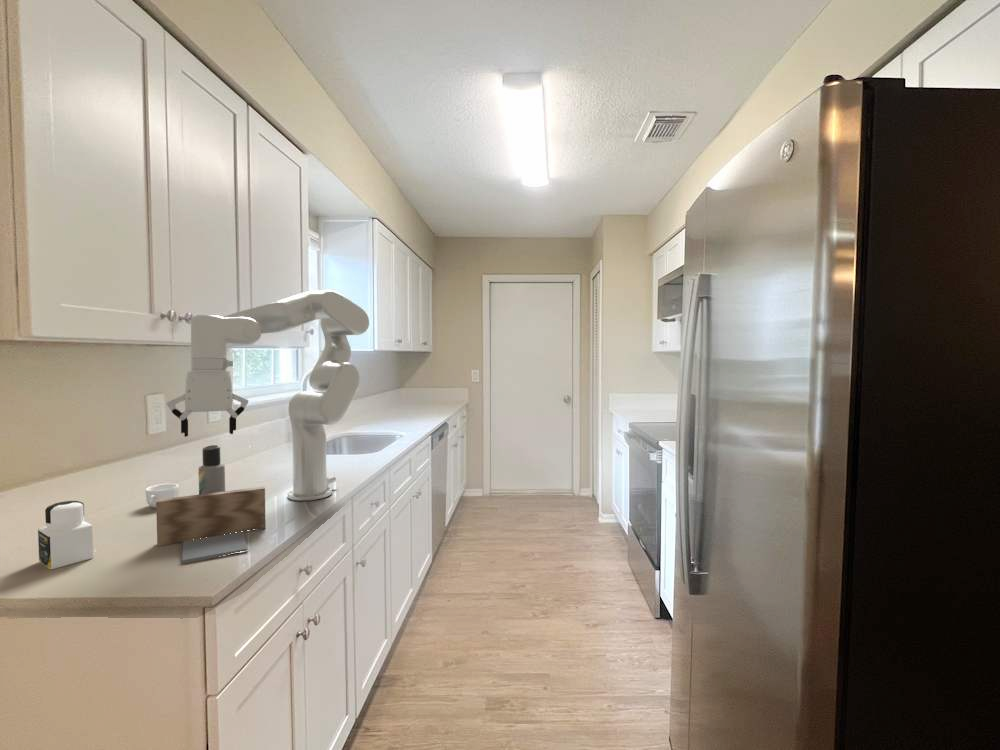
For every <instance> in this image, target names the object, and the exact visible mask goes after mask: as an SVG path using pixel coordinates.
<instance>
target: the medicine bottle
mask: <svg viewBox="0 0 1000 750" xmlns="http://www.w3.org/2000/svg"><path fill="white" fill-rule="evenodd" d="M44 512H45V513H44V514H45V515H44V516H45V517H44V518H45V526H42V527H39V528H38V529H37V537H38V540H37V541H38V542H37V543H38V561H39V563H41V564H42V565H43V566H45V568H48V569H49V570H50V571H51V570H54V569H55V570H56V569H58V568H62V567H66V566H69V565H73V564H78V563H80V562H84V561H87V560H91V559H94V556H95V555H94V553H95V552H94V551H95V550H94V526H93V524H90V523H89V522H87V521H85V503H84V502H82V501H79V500H64V501H59V502H56V503H53V504H51V505H49V506H47V507H46V508H45V511H44Z"/></svg>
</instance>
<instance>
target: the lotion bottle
mask: <svg viewBox="0 0 1000 750" xmlns="http://www.w3.org/2000/svg"><path fill="white" fill-rule="evenodd" d="M224 491H226V467H225V464H224V463H222V460H221V446H219V445H215V444H214V445H213V444H212V445H211V444H210V445H208V446H205V447H202V465H199V466H198V495H199V494H208V493H216V492H224Z"/></svg>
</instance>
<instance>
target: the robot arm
mask: <svg viewBox="0 0 1000 750" xmlns="http://www.w3.org/2000/svg"><path fill="white" fill-rule="evenodd" d="M369 319H370V318H369V316H368V314H367V313H366V311H365V310H364V309H363V308H362V307H361V306H359V305H357V304H356V303H354V302H353V301H352V300H350V299H348V298H347V297H346V296H344V295H343V294H341V293H339V292H336V291H335V290H331V289H325V290H324V289H323V290H322V289H321V290H311V291H305V292H301V293H299V294H296V295H292V296H290V297H287V298H283V299H280V300H277V301H274V302H270V303H266V304H263V305H262V304H261V305H259V306H256V307H251V308H248V309H244V310H243V309H242V310H240V311H236V312H233V313H229V314H227V315H223V316H221V315H216V314H215V315H213V314H196V315H194V316H192V318H191V320H190V357H191V358H190V369H191V370H187V373H186V379H185V384H184V386H185V387H184V394H182V395H180V396H177V397H175V398H173V399H171V400H169V401H167V403H166V405H167V407H168V408H169V410H170V411H171V413H172V414H173V415H174V416H176V417H177V418H178V419H179V420H180V434H183V435H184V438H185V437H188V436H189V419H188V417H189V415H190V414H192V413H200V412H201V413H202V412H203V413H204V412H207V413H208V412H225V411H226V412H227V413H228V414H229V415H230V417H228V418H229V419H228V421H229V423H228V424H229V425H228V426H229V427H228V428H229V429H228V432H229V434H230V435H233V434H234V431H236V430H237V418H238V417H239V416H240V415H241V413H243V412H244V411H245V408H246V407H247V406H248V404H249V400H248V399H247V398H244V397H243V396H241V395H238V394H236V393H233V386H232V378H231V377H232V376H231V372H230V371H229V370H227V368H229V367H234V361H233V360H228V359H227V347H248V346H251V345H254V344H256V343H257V342H259V340H260V339H261V336H262V335H263V334H264V335H265V334H274V333H281V332H286V331H290V330H292V329H294V328H297V327H300V326H302V325H305V324H307V323H310V322H313V321H317V320H319V321H320V323H319V324H320V328H321V331H322V334H323V336H324V337H323V339H324V347H323V350H322V351H321V354H320V356H319V358H318V360H317V361H316V363H315V365H314V367H313V368H312V370H311V373H310V375H309V378H308V383H309V386H310V387H311V388H312V389H313V390H315V391H310V390H309V391H308V390H307V391H301V392H297V393H295V394H294V395H293V396H292V397H291V399H290V400H289V403H288V406H287V407H288V415H289V420H290V424H291V434H292V435H291V436H292V437H291V438H292V487H293V488H292V489H291V490H290V491H288V492H287V498H288V500H292V501H300V502H301V501H304V502H305V501H314V500H315V501H316V500H320V499H321V500H322V499H324V498H326V497H327V498H328V497H329V496H330V495H332V493H333V489H332V488H331V487H329V485H330V484H333V483H335V482H337V479H336V476H334V475H333V476H330V477H327V435H326V431H325V427H324V426H325V425H326V426H327V425H328V426H331V425H335V424H337V423H339V422H340V421H342V419H343V418H344V416H345V415H346V413H347V411H348V409H349V406H350V404H351V402H352V401H353V399H354V396H355V395H356V392H357V390H358V388H359V384H360V373H359V370H358V368H357V367H356V366H355V365H354V364H352V363H350V362H349V361H350V359H351V356H352V349H351V345H350V343H349V341H348V336H360V335H363V334H364V333H366V331H367V330H368V329H369V327H370V320H369ZM233 400H235V401H237V402H239V403H240V405H239V407H238V408H237V409H235V410H234V409H233V403H234V402H233ZM183 401H184V407H185V410H184V411H183V412H181V411H180V409H178V408H177V406H176V405H177V404H179V403H181V402H183Z"/></svg>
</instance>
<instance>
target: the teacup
mask: <svg viewBox="0 0 1000 750" xmlns="http://www.w3.org/2000/svg"><path fill="white" fill-rule="evenodd" d="M179 488H180V486H179V484H177V483H160V484H157V485H155V484H154V485H151V486H148V487H146V488H145V498H146V499H145V500H146V502H147V504H148V506H149V507H150V508H153V507H154V508H153V509H156V501H157V500H159V499H167V498H175V497H179V493H180V492H179V491H180V490H179Z"/></svg>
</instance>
